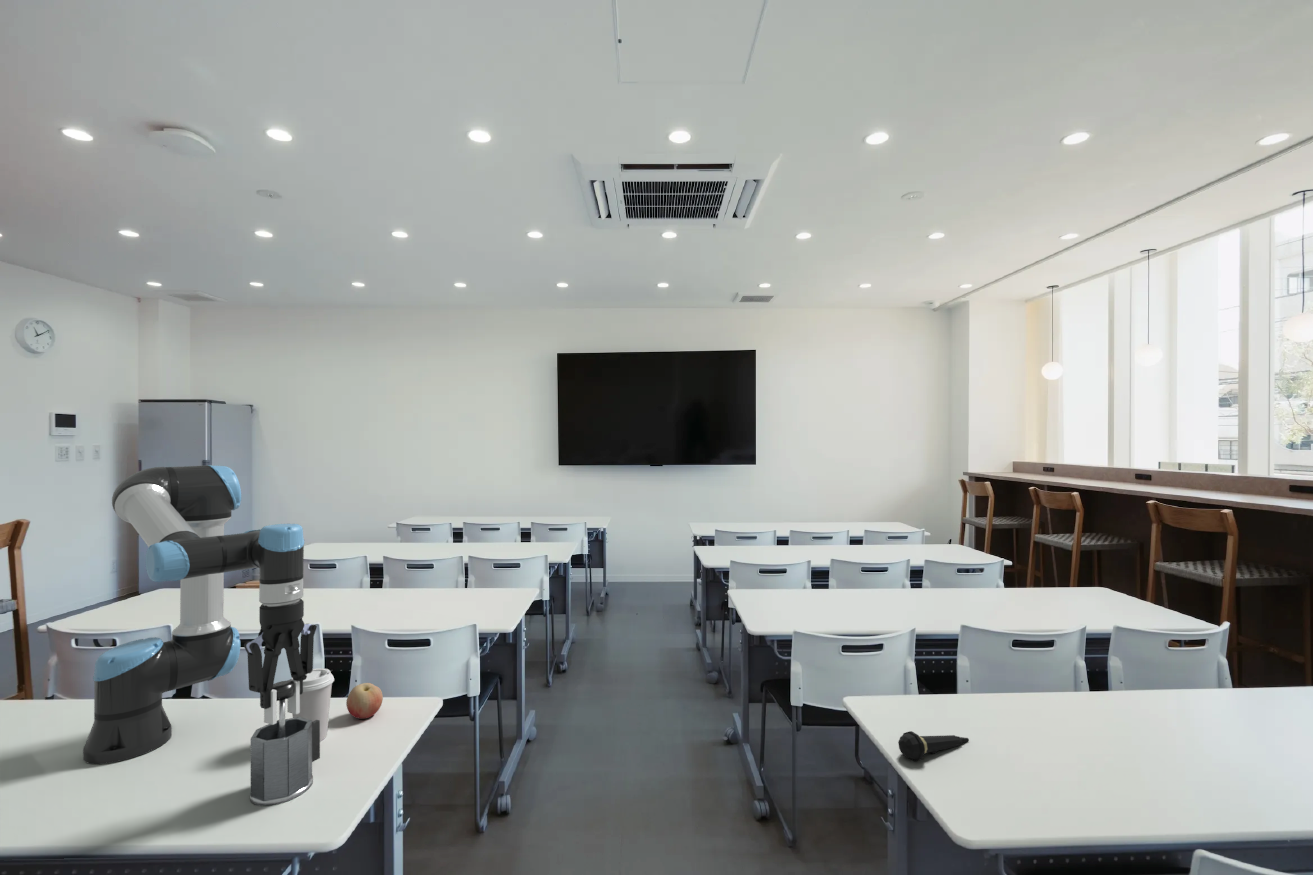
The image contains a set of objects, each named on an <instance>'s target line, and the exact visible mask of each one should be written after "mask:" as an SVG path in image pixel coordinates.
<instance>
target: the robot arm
mask: <svg viewBox="0 0 1313 875" xmlns="http://www.w3.org/2000/svg"><path fill="white" fill-rule="evenodd" d="M237 476H238V475H237V474H236V473H235V471H234V470H233V469H232V468H231V467H229V466H225V465H211V464H207V465H189V466H187V465H185V466H166V467H165V466H158V467H150V468H146V469H142V470H139V471H137V472H135V473H133V474H131V475H129V476H128V477H126V478H125V479H124V480H122V481H121V482H120V483H119V484H118V485H117V487H116V488H115V489H114V491H113V494H112V497H111V504H112V505H111V506H112V509H113V511H114V512H115V514H116V515H117V516H118V518H119V519H121V520H122V521H124V522H126V523H129V524H131V525H132V527H133V529H135V531H136V532H137V534H138V535H139V536H140V538H141V539H142V540H143V542H144V543H145V544H146V546H147V550H146V554H145V570H146V572H147V577H148V578H149V580H150V581H152V582H155V583H160V582H161V583H162V582H176V581H180V583H179V585H180V589H179V590H180V601H179V603H180V604H179V605H180V606H179V607H180V608H179V609H180V610H179V611H180V613H179V618H180V619H179V620H180V622H179V624H178V625H177V627H175V628H174V629H172V632H171V640H168V641H163V640H162V638H160V637H155V636H154V637H147V638H140V639H135V640H131V641H128V642H125V643H122V644H120V645H117V646H115V647H113V648H110V649H108V650H107V651H104V652H102V654H101V655H99V656H98V657H97V659H96V660H95V664H94V672H93V676H92V679H93V682H94V683H93V684H94V685H93V689H94V694H93V695H94V696H93V698H94V699H93V702H94V704H93V705H94V706H93V707H94V708H93V709H94V710H93V717H94V718H93V723H92V726H91V729H90V731H89V733H88V736H87V739H86V741H85V744H84V746H83V748H82V749H83V750H82V752H83V753H82V761H83V762H85V763H87V764H92V765H100V764H101V765H102V764H104V765H105V764H112V763H116V762H121V761H125V760H129V759H132V758H136V757H139V756H141V755H145V754H147V753H149V752H152V751H153V750H157V749H158V748H160V747H162V746H163V745H165V744H166V743H167V742H169V741H170V739H172V735H173V734H172V731H173V730H172V729H173V728H172V727H173V726H172V723H171V721H170V720H169V717H168V715H167V713H166V711H165V709H164V706H163V694H164V693H167V692H169V691H170V692H171V691H174V690H177V689H183V688H185V687H189V686H192V685H196V684H199V683H203V682H208V681H213V680H215V679H217V678H219V677H224V676H226V675H228V674H230V673H231V672H232V671H233V670H234V668H235V667H236V666H237V664H238V661H239V657H240V653H241V639H240V637H241V636H240V632H239V630H238V628H236V627H233V626H231V625H232V624H231V621H230V620H228V619H227V618H225V617H224V600H225V599H224V597H225V596H224V595H225V594H224V590H225V588H224V584H225V582H224V580H225V579H224V575H225V573H230V572H231V573H232V572H237V571H243V570H249V569H256V568H258V569H259V572H258V573H259V580H258V581H259V589H258V590H259V591H258V592H259V593H258V594H259V595H258V596H259V597H258V601H259V602H260V604H261V605H260V606H259V610H258V611H259V614H258V615H259V617H258V618H259V619H258V620H259V625H260V629H259V632H258V636H256V637H255V638H254V639H253V640H251V641H249V640H248V641H245V643H244V644H243V649H244V650H245V652H246V654H247V673H248V676H247V678H248V690H249V691H250V692H254V693H259V700H260V701H259V706H260V708H261V709H263V715H264V716H263V722H264V723H265V724H267V725H268V724H272V725H274V724H276V723H277V719H278V718H277V717H278V715H277V712H278V711H277V709H278V708H277V706H278V704H277V702H278V701H277V690H274V689H272V688H273V684H275V683H274V682H275V676H276V672H277V666H278V662H279V661H278V660H279V657H280V655H281V654H282V649H284V650H285V654H286V658H287V659H286V660H287V664H288V668H289V673H290V676H291V678H290V679H288V680H286V681H293V682H294V695H293V696H292V697H290V698H288V699H286V700H287V710H286V711H287V713H289V714H291V715H292V714H298V713H300V695H301V694H302V693H303V680H305V679H306V678H307V676H306V675H307V674H308V673H311V672H312V670H313V669H314V668H313V667H314V642H315V641H314V638H315V634H316V631H317V629H318V626H317V625H316V624H313V623H312V624H311V623H305V622H304V620H303V618H304V615H305V613H304V612H305V610H304V608H305V601H304V599H302V598H303V597H304V558H305V557H304V556H305V555H304V551H305V550H304V548H305V546H304V545H305V539H304V530H303V529H304V528H303V526H302V525H300V524H299V523H278V524H269V525H265V526H263V527H261V528H260V529H250V530H247V531H245V532H241V533H233V534H225V524H226V523H227V522H228V521H229V520H230V519H232V511H235V510H238V509H239V508H240V506H241V502H242V490H241V484H240V480H239V478H238V477H237ZM299 636H300V641H299ZM262 644H263V645H264V648H263V646H262ZM262 649H264V650H263V654H262ZM263 655H264V657H263ZM292 678H293V679H292Z"/></svg>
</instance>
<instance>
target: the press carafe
mask: <svg viewBox="0 0 1313 875" xmlns="http://www.w3.org/2000/svg"><path fill="white" fill-rule="evenodd" d="M320 758H321V741H320V720H315V721H313V722H312V720H308V719H305V718H301V717H296V718H293V717H290V718H285V738H280V739H279V719H278V720H277V723H276V724H274V725H272V724H268V723H267V724H266V725H263V726H261V727H259V728H256V729H255V731H254V733H253V734H252V736H251V737H250V793H249V794H250V795H249V800H250V802H251V804H253V805H256V806H259V807H260V806H261V807H262V806H263V807H264V806H265V807H267V806H268V807H269V806H274V805H279V804H280V805H281V804H283V803H287V802H289V801H292V800H293V799H295V798H298V797H299V796H301V795H302V794H304V793H306V792H308V790H309V789H310V788H312V785H313V783H314V776H313V763H314V762H315V761H317V760H319V759H320Z"/></svg>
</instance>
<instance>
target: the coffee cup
mask: <svg viewBox="0 0 1313 875" xmlns="http://www.w3.org/2000/svg"><path fill="white" fill-rule="evenodd" d="M331 672H332V671H331V670H330V669H328V668H313V670H312V672H311V673H308V674H307V675H306V676H307V678H306V679H305V680H303V693H302V694H301V695H300V713H298V714H292V713H291V715H292V718H296V717H301V718H305V719H308V720H312V722H313V721H315V720H320V742H321V741H323V740H325V739H326V738H327V736H328V728H329V718H330V706H331V697H332V696H331V695H332V686H333V683H334V682H335V678H334V675H333V674H332V673H331ZM291 679H293V678H292V677H291Z"/></svg>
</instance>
